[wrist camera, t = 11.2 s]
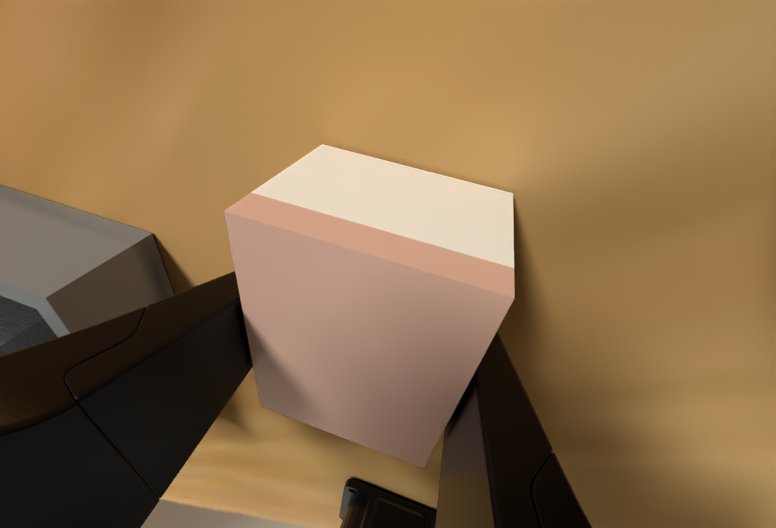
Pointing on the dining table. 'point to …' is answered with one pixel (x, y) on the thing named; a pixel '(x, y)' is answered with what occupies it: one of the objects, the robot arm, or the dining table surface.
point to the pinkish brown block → (370, 294)
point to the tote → (75, 263)
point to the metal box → (21, 326)
